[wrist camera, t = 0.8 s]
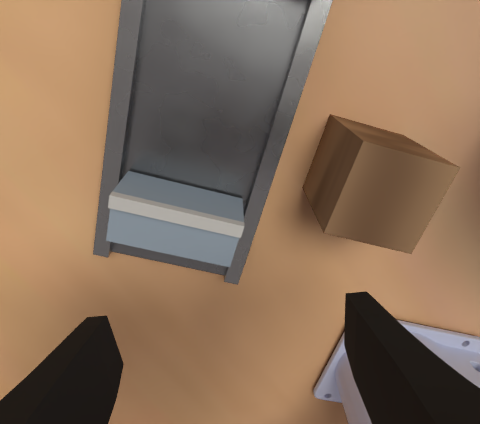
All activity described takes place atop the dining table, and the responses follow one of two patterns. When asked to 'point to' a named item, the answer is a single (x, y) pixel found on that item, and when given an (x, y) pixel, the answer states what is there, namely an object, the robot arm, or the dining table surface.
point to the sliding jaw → (175, 219)
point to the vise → (206, 102)
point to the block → (375, 185)
